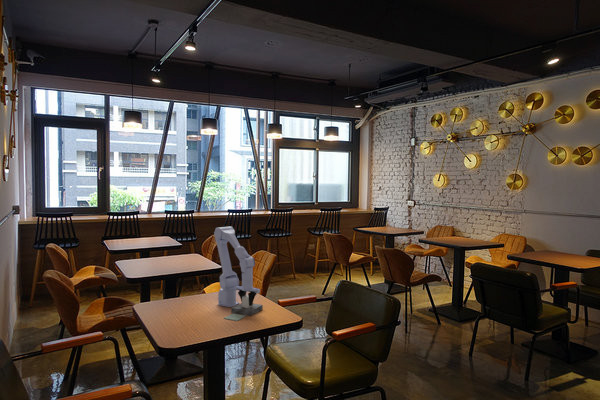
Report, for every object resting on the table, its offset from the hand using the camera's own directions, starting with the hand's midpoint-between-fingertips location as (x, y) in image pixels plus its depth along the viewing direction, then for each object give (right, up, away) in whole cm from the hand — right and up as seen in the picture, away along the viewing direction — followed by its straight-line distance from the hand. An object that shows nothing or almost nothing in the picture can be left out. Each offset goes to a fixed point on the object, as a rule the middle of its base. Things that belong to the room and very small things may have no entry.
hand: (247, 304), depth 215 cm
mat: (-5, -4, -10) cm, 12 cm away
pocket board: (0, -3, 0) cm, 3 cm away
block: (0, -3, 0) cm, 3 cm away
